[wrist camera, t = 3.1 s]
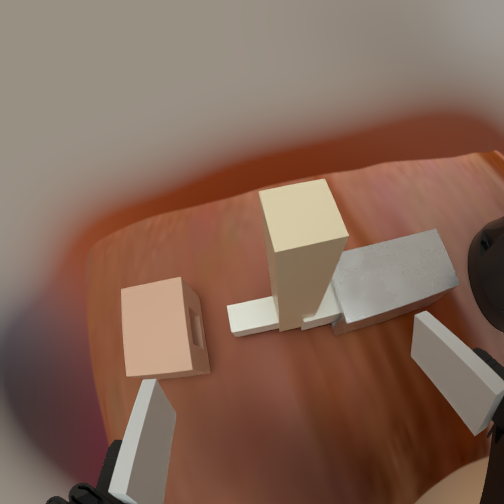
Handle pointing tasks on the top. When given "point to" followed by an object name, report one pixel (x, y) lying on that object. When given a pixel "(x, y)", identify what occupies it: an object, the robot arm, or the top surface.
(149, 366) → the socket block
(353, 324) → the grey rectangular block
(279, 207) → the cream pillar on base
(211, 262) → the top surface
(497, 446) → the robot arm
